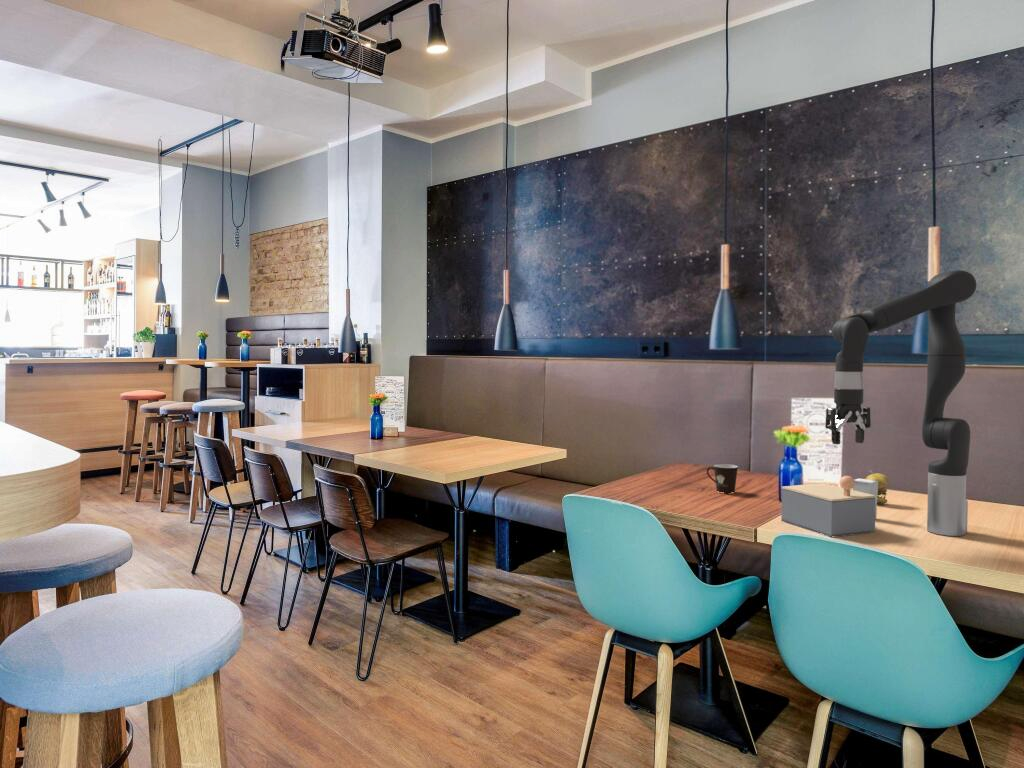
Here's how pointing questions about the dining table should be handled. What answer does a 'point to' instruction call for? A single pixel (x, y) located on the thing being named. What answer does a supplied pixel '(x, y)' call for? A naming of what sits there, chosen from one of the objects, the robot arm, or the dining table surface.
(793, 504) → the carton
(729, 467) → the coffee mug
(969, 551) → the dining table surface
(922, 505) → the dining table surface
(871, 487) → the skincare box
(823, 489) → the carton flap
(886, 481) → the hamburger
